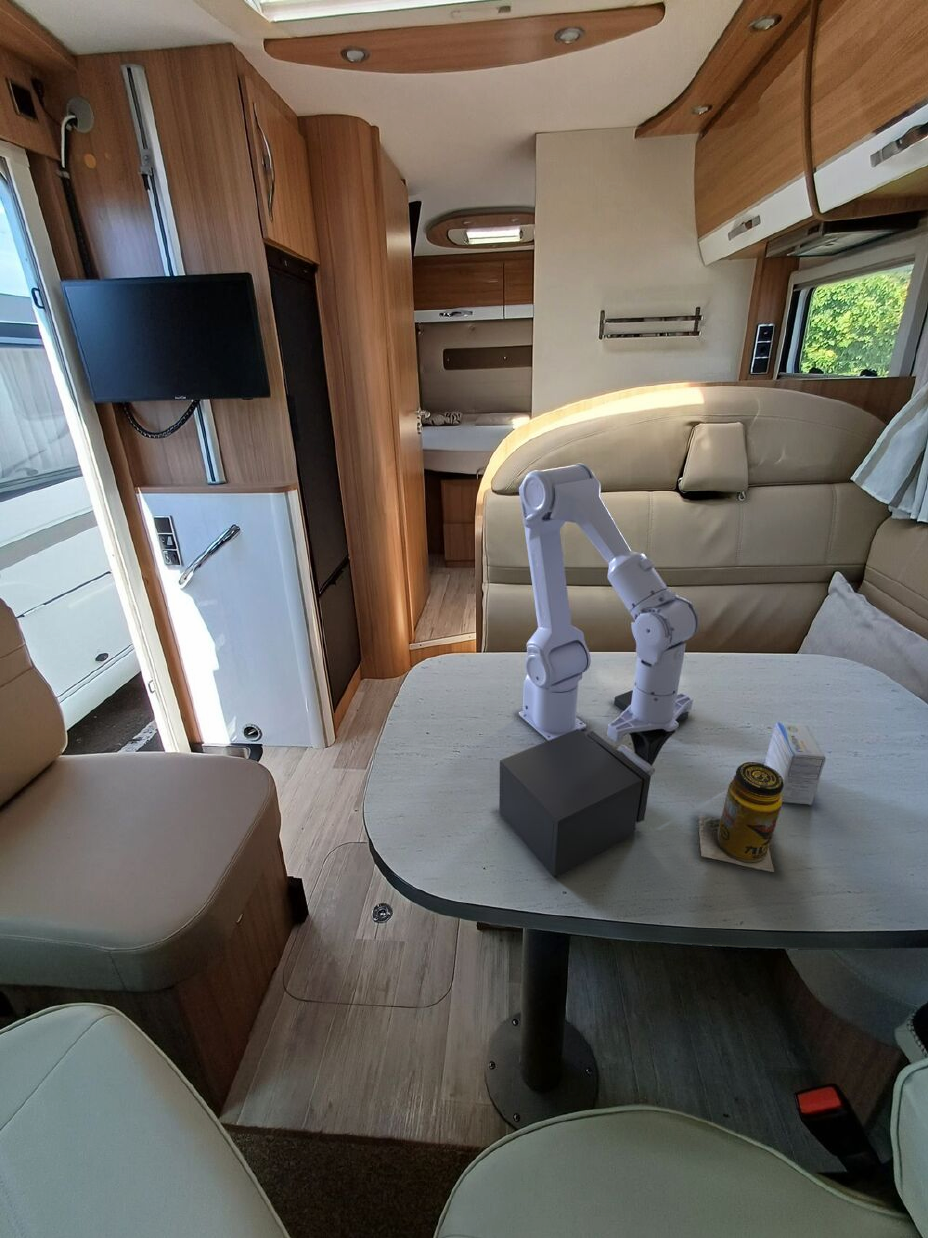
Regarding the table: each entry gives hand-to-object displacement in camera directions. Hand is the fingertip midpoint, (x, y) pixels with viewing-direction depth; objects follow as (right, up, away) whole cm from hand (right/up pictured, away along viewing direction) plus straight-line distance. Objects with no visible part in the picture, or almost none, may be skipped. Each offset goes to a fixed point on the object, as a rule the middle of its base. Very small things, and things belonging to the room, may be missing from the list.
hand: (643, 763), depth 82 cm
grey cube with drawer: (-12, -7, -4) cm, 15 cm away
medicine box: (+22, -4, +2) cm, 22 cm away
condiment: (+9, -9, -8) cm, 15 cm away
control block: (+7, +4, +19) cm, 21 cm away
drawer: (-8, -5, -3) cm, 10 cm away
